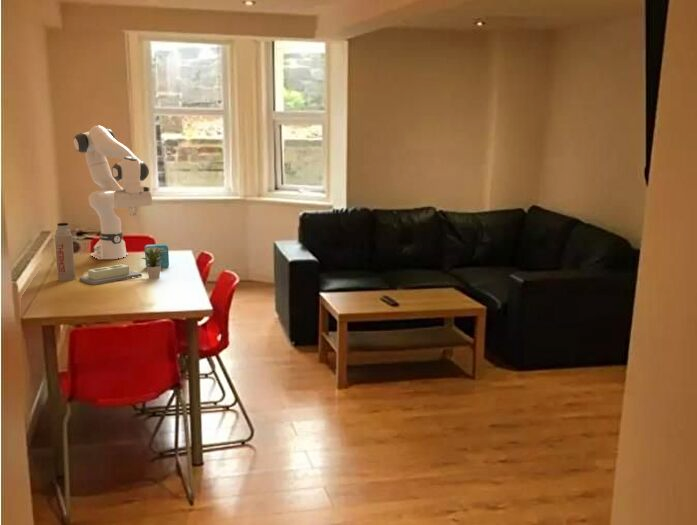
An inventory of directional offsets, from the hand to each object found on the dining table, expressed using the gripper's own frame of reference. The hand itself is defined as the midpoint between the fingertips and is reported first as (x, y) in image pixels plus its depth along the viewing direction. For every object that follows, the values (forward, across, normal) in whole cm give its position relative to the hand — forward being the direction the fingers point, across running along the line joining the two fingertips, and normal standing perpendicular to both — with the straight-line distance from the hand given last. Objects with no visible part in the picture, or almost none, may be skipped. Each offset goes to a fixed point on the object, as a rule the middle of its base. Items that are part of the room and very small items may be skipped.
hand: (133, 215), depth 366 cm
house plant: (+29, -3, -21) cm, 36 cm away
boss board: (+29, -18, -6) cm, 35 cm away
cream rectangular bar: (+28, -19, -6) cm, 34 cm away
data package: (+29, +13, +1) cm, 32 cm away
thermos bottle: (+29, -34, +8) cm, 46 cm away
